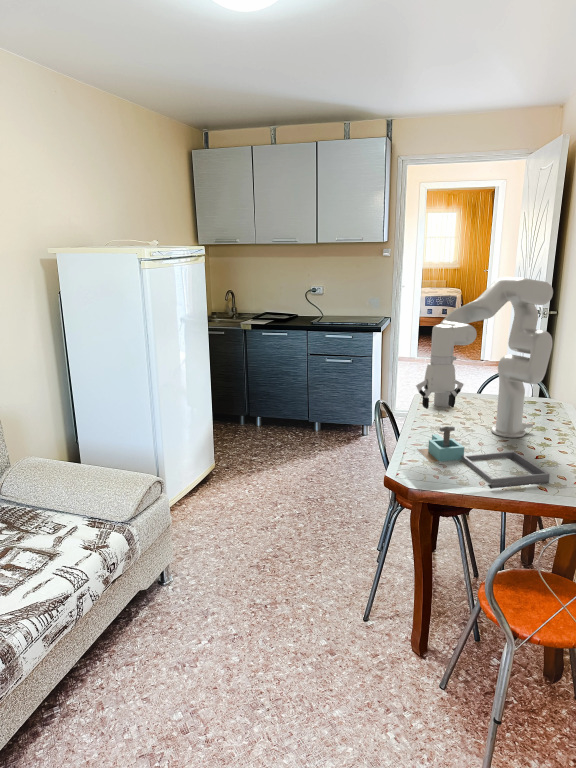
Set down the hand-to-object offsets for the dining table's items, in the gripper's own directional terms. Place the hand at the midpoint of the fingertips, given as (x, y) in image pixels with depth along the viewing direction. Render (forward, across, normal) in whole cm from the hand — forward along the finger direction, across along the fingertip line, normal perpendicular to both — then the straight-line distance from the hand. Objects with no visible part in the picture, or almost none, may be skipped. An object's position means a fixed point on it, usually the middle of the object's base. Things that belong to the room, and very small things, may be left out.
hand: (438, 407), depth 188 cm
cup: (+17, -29, -56) cm, 65 cm away
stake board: (+18, +1, +5) cm, 18 cm away
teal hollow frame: (+16, -1, +4) cm, 16 cm away
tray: (+17, -14, +21) cm, 31 cm away
